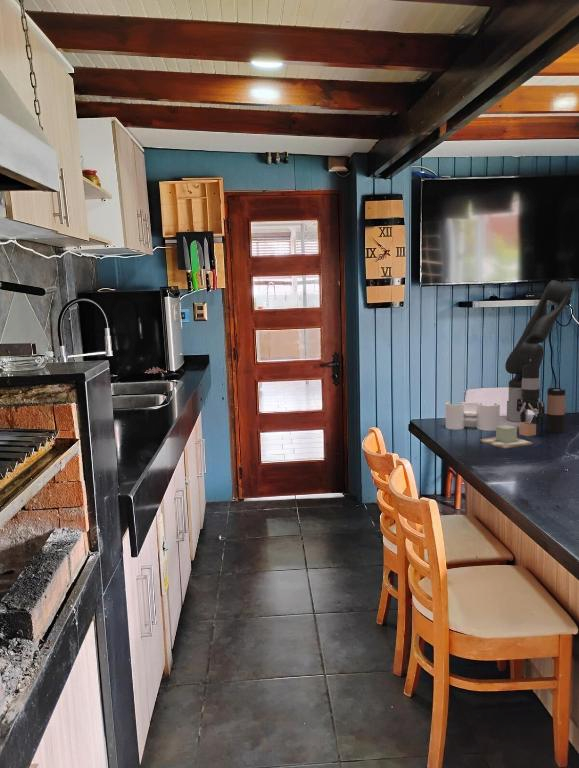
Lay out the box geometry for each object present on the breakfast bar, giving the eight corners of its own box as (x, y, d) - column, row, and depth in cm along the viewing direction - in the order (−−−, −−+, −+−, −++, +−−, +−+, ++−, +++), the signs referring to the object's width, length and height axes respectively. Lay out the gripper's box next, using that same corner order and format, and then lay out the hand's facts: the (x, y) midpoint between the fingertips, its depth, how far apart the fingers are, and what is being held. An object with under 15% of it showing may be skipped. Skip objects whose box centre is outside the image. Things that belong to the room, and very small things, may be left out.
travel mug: (545, 432, 261) (546, 390, 258) (546, 429, 268) (547, 387, 265) (563, 434, 258) (565, 390, 255) (564, 430, 264) (565, 388, 262)
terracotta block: (519, 434, 261) (519, 423, 260) (527, 433, 263) (527, 422, 262) (527, 436, 256) (527, 425, 256) (535, 435, 258) (536, 424, 258)
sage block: (495, 439, 248) (496, 426, 247) (506, 438, 250) (507, 424, 250) (505, 442, 243) (505, 429, 242) (516, 441, 245) (517, 427, 244)
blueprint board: (480, 440, 251) (480, 438, 251) (507, 437, 256) (507, 435, 256) (504, 448, 237) (504, 446, 237) (532, 444, 242) (532, 442, 242)
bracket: (445, 429, 276) (445, 405, 274) (445, 425, 285) (445, 401, 283) (500, 431, 268) (500, 406, 267) (498, 426, 278) (499, 402, 276)
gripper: (549, 388, 251) (548, 424, 253) (524, 385, 264) (524, 419, 266) (536, 390, 248) (536, 426, 250) (512, 386, 261) (512, 421, 264)
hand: (530, 422), depth 258 cm, fingers open, 8 cm apart
